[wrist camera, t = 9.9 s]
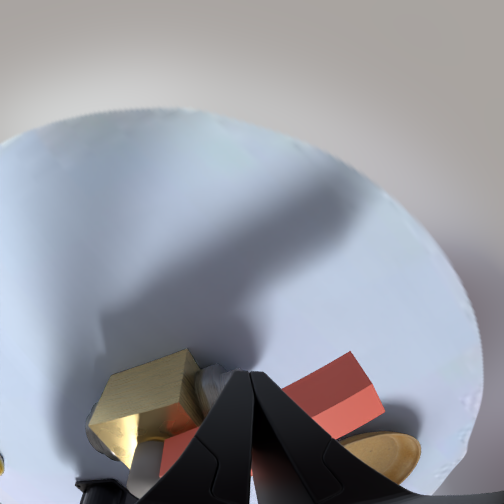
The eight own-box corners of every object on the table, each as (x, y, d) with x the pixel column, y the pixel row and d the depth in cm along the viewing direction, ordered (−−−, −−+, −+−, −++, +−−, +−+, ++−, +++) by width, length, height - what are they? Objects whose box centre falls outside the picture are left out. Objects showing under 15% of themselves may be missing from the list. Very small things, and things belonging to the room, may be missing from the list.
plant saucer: (269, 501, 29) (272, 518, 26) (306, 419, 25) (313, 439, 23) (378, 491, 31) (385, 504, 28) (432, 411, 27) (443, 425, 25)
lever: (156, 474, 17) (151, 507, 14) (124, 448, 16) (115, 482, 14) (366, 383, 16) (387, 415, 14) (347, 345, 16) (369, 378, 13)
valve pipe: (130, 439, 24) (116, 492, 18) (84, 383, 22) (56, 436, 16) (262, 400, 24) (274, 461, 18) (225, 333, 22) (227, 391, 16)
